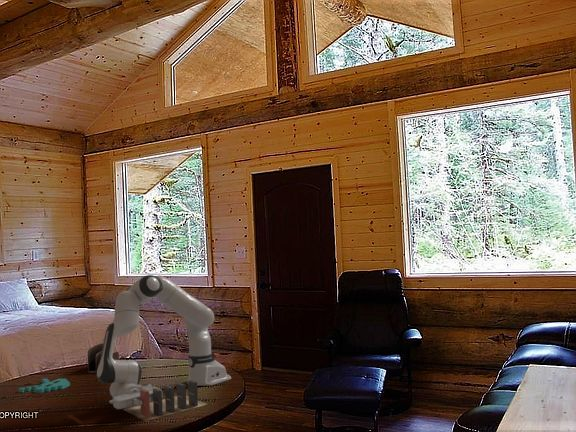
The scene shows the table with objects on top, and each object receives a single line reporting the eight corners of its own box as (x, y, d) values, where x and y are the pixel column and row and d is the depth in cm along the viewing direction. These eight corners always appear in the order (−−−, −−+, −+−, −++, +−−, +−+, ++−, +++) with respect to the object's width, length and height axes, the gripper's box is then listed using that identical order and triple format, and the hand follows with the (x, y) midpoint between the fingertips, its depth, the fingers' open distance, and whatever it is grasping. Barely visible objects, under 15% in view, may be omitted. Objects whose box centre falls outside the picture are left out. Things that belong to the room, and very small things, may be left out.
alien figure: (18, 393, 275) (54, 393, 271) (18, 388, 275) (53, 389, 271) (44, 382, 294) (77, 383, 290) (43, 378, 294) (77, 378, 290)
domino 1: (157, 412, 228) (156, 388, 228) (162, 415, 224) (161, 390, 224) (153, 413, 227) (152, 389, 227) (159, 416, 223) (158, 391, 223)
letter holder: (87, 373, 310) (86, 348, 310) (104, 365, 329) (103, 341, 330) (104, 373, 308) (103, 348, 309) (119, 365, 328) (119, 341, 329)
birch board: (183, 396, 253) (183, 394, 253) (208, 406, 236) (208, 404, 236) (123, 411, 234) (122, 409, 234) (145, 423, 217) (145, 421, 217)
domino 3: (180, 406, 235) (179, 382, 235) (186, 408, 231) (185, 384, 231) (177, 407, 234) (176, 383, 234) (183, 409, 230) (182, 385, 230)
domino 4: (192, 403, 238) (191, 380, 239) (197, 405, 234) (197, 382, 235) (188, 404, 237) (187, 380, 238) (194, 406, 233) (193, 382, 234)
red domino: (144, 413, 224) (143, 388, 225) (150, 416, 220) (149, 391, 221) (140, 414, 223) (139, 389, 224) (146, 417, 219) (145, 392, 220)
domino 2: (169, 409, 231) (168, 385, 232) (174, 411, 227) (173, 387, 228) (165, 410, 230) (164, 386, 231) (171, 412, 226) (170, 388, 227)
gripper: (107, 393, 225) (120, 400, 215) (153, 383, 238) (168, 388, 228) (107, 408, 225) (121, 416, 215) (154, 397, 238) (168, 404, 228)
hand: (145, 402), depth 221 cm, fingers closed on red domino, 2 cm apart
